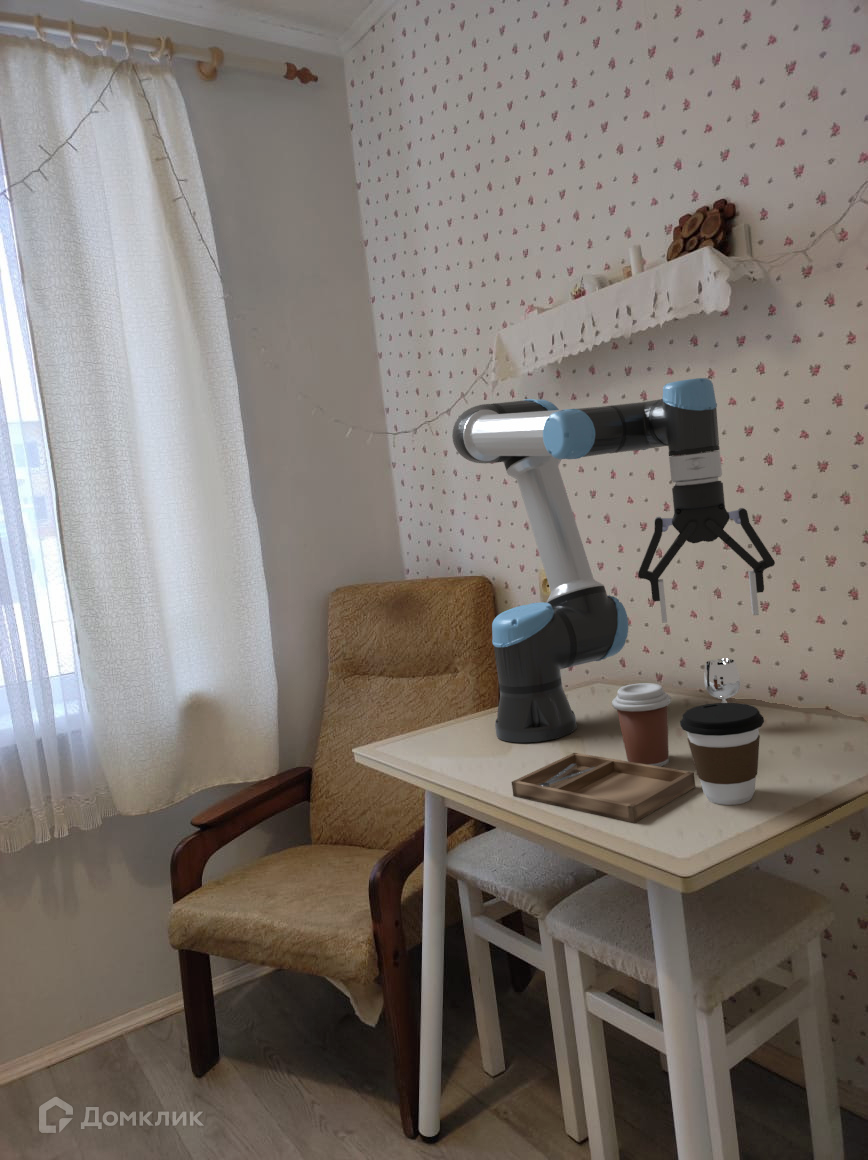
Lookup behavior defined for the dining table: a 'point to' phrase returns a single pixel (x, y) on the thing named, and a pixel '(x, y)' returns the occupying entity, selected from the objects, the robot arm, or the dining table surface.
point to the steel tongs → (564, 776)
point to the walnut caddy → (607, 786)
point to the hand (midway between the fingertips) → (709, 617)
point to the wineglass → (721, 678)
